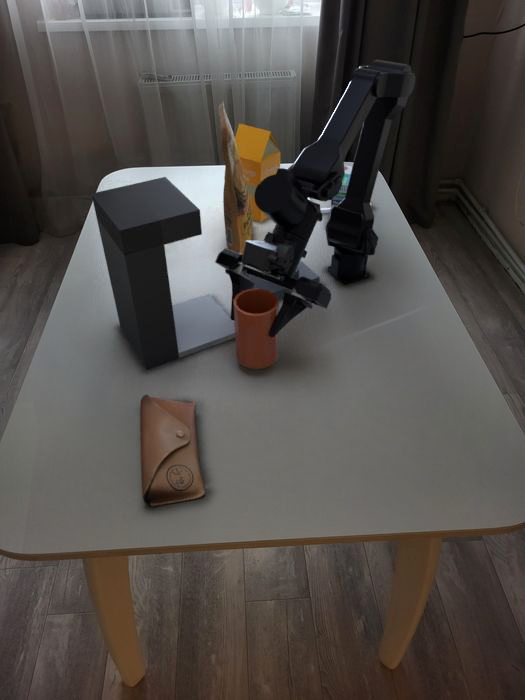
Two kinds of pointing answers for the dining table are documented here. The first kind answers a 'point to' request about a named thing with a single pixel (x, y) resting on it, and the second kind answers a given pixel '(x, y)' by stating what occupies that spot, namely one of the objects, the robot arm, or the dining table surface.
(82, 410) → the dining table surface
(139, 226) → the coffee maker
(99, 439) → the dining table surface
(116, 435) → the dining table surface
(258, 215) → the orange juice
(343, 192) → the light bulb box
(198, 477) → the sunglasses case
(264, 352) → the tumbler
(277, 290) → the pad
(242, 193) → the pancake mix bag
